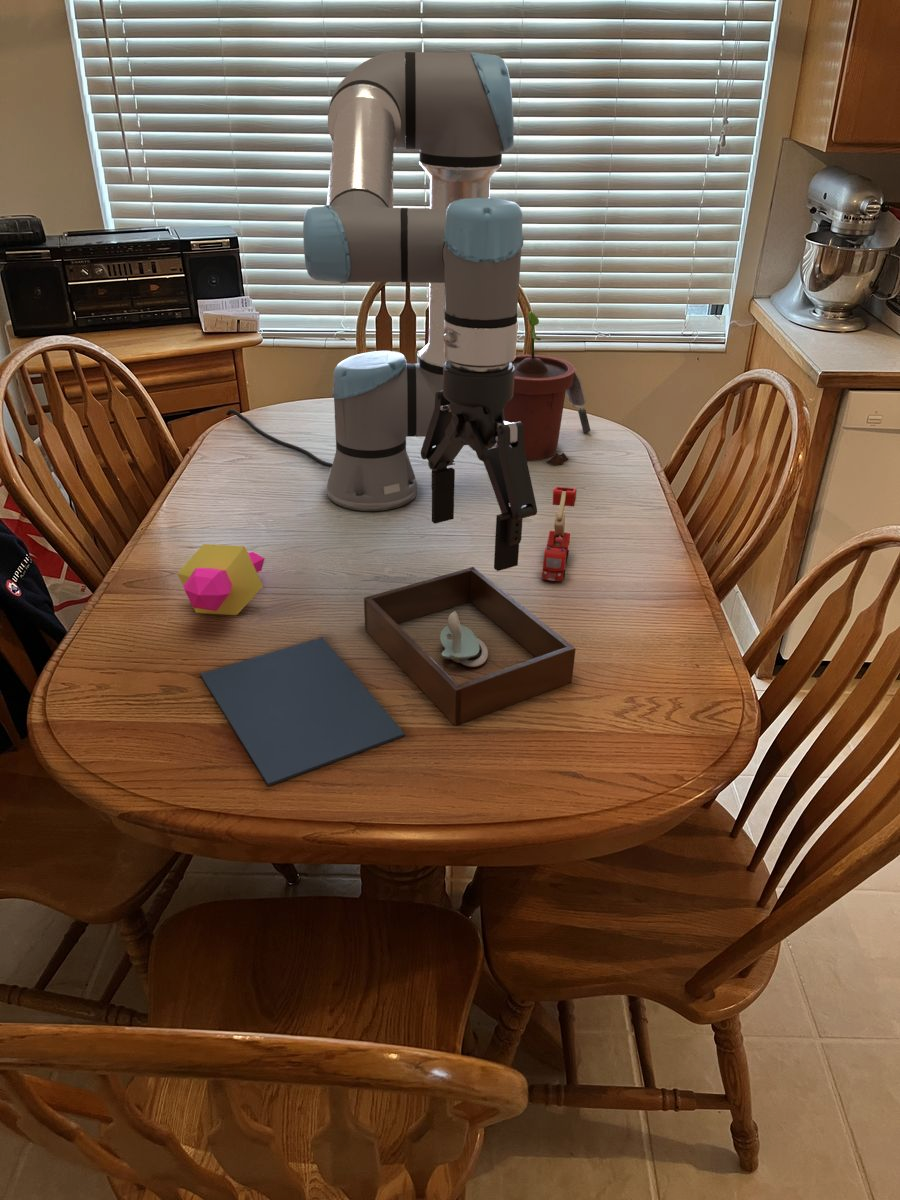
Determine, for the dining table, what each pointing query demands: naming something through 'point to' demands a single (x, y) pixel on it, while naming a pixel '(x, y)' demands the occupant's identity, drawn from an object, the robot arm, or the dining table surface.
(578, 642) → the dining table surface
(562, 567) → the toy fire truck
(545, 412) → the potted plant
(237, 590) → the toy
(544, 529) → the dining table surface
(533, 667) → the open box
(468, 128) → the robot arm
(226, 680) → the mat
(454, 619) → the pacifier
